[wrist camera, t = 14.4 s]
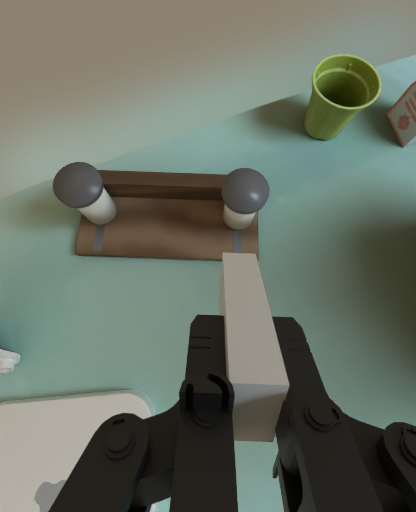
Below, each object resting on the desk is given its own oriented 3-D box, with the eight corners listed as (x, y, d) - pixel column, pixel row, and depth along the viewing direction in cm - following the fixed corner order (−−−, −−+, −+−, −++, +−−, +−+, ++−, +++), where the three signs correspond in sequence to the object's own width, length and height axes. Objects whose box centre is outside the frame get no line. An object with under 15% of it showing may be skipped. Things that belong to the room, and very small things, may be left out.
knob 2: (257, 234, 40) (269, 211, 32) (218, 233, 40) (221, 210, 32) (256, 198, 41) (268, 168, 33) (219, 197, 41) (222, 167, 33)
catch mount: (257, 262, 40) (264, 253, 35) (78, 255, 40) (61, 245, 35) (256, 193, 43) (262, 176, 38) (89, 187, 43) (74, 169, 38)
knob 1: (118, 229, 40) (97, 205, 32) (79, 227, 40) (48, 203, 32) (122, 193, 41) (103, 162, 33) (85, 192, 41) (57, 161, 33)
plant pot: (281, 119, 46) (298, 73, 38) (323, 93, 48) (349, 43, 39) (318, 159, 44) (344, 120, 36) (361, 130, 46) (396, 86, 37)
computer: (155, 386, 36) (151, 391, 34) (162, 599, 31) (158, 624, 28) (-16, 402, 36) (-33, 408, 33) (-40, 622, 30) (-63, 651, 28)
